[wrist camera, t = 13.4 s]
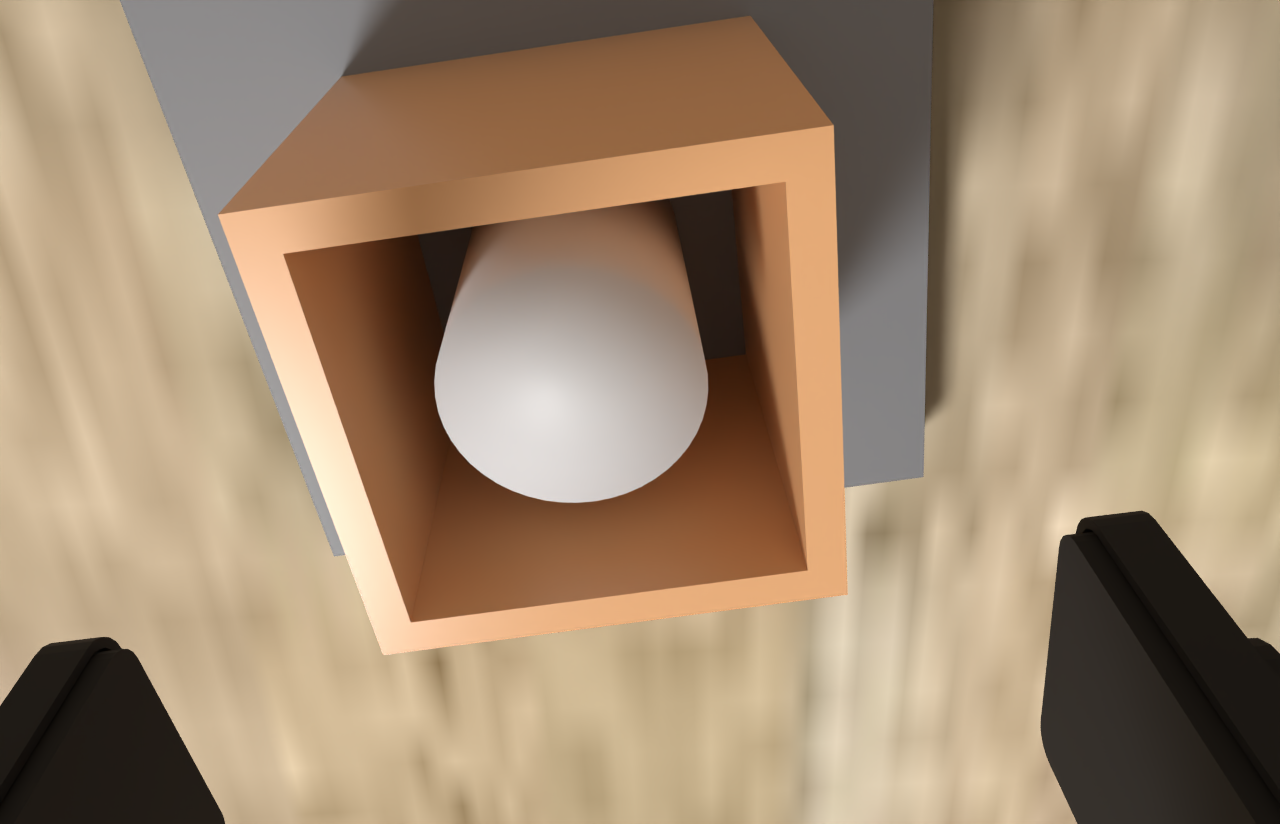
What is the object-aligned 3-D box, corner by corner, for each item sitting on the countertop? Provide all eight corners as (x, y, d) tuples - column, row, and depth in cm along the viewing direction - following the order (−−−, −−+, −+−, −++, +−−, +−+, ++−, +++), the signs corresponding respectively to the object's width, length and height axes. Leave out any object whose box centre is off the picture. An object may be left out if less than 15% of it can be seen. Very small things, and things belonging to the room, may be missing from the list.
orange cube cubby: (750, 15, 18) (833, 124, 12) (775, 374, 21) (847, 594, 16) (341, 76, 18) (217, 213, 12) (439, 420, 22) (383, 654, 16)
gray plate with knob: (911, -232, 17) (1106, -252, 11) (905, 441, 24) (1018, 668, 18) (118, -107, 17) (-151, -54, 11) (347, 517, 25) (264, 765, 18)
